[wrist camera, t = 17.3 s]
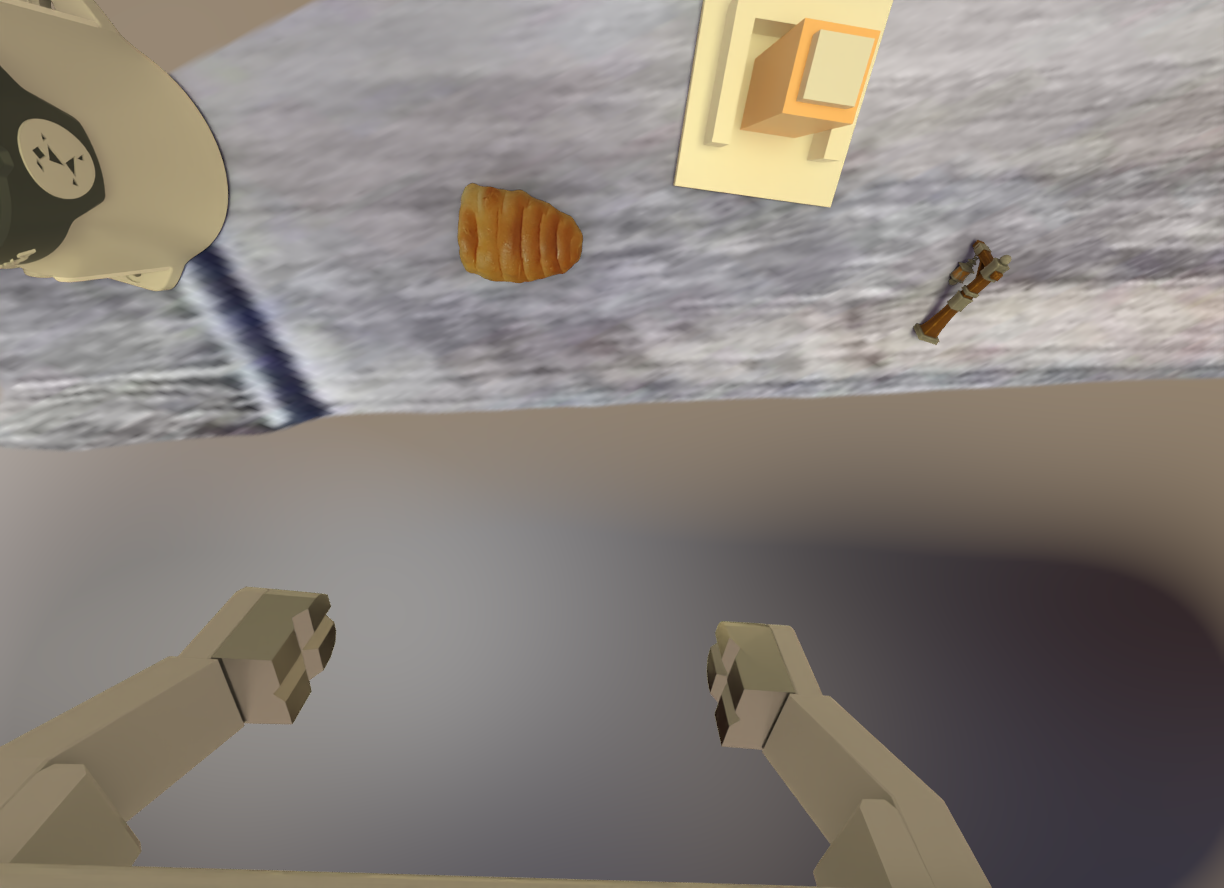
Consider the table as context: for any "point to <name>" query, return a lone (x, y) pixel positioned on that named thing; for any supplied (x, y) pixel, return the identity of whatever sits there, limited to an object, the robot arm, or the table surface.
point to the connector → (809, 79)
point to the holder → (722, 68)
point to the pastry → (514, 236)
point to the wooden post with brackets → (965, 289)
